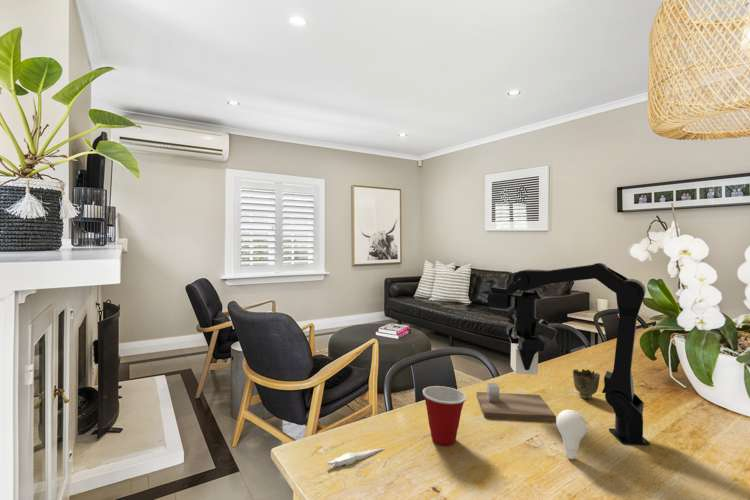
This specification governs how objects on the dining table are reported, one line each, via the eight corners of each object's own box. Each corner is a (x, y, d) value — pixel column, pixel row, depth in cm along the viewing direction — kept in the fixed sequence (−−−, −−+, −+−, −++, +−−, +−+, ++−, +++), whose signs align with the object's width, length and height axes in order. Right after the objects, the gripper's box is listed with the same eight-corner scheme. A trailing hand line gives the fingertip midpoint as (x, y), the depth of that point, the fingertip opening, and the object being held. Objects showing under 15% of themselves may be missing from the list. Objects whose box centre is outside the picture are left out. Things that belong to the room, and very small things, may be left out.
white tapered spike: (329, 472, 80) (329, 463, 80) (324, 466, 83) (324, 457, 83) (388, 455, 88) (388, 447, 88) (382, 450, 90) (382, 442, 90)
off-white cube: (537, 374, 106) (538, 350, 106) (515, 373, 107) (516, 349, 106) (531, 367, 112) (531, 344, 112) (510, 366, 113) (511, 343, 112)
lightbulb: (559, 448, 89) (560, 402, 89) (588, 457, 85) (589, 409, 85) (552, 459, 85) (553, 411, 84) (583, 470, 81) (583, 420, 80)
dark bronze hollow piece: (592, 393, 121) (593, 368, 121) (604, 403, 114) (604, 377, 114) (568, 392, 122) (568, 368, 122) (578, 402, 114) (578, 376, 114)
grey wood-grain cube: (499, 402, 111) (499, 387, 111) (488, 401, 111) (489, 386, 111) (497, 398, 114) (497, 383, 114) (487, 397, 114) (487, 383, 114)
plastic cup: (476, 443, 91) (476, 394, 91) (442, 457, 86) (443, 405, 85) (445, 424, 101) (445, 380, 100) (413, 436, 95) (413, 389, 95)
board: (555, 421, 103) (555, 415, 103) (484, 417, 105) (484, 412, 105) (539, 399, 116) (539, 394, 116) (476, 396, 119) (476, 392, 119)
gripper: (566, 321, 98) (565, 379, 99) (543, 307, 117) (542, 357, 118) (522, 319, 100) (521, 377, 100) (506, 306, 118) (505, 355, 119)
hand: (523, 366), depth 109 cm, fingers closed on off-white cube, 6 cm apart
